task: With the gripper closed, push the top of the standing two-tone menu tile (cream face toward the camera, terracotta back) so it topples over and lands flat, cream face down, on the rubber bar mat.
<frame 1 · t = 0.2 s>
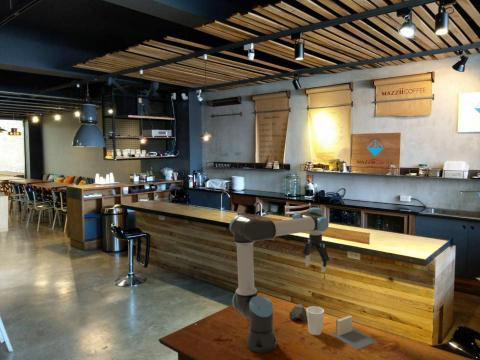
hand: (315, 268, 223), 27 cm above the table, fingers open, 13 cm apart
menu tile: (344, 332, 200), point 1 cm above the table, touching bar mat
bar mat: (353, 338, 195), on the table
foam cup: (315, 333, 201), on the table
fossil: (297, 318, 219), on the table
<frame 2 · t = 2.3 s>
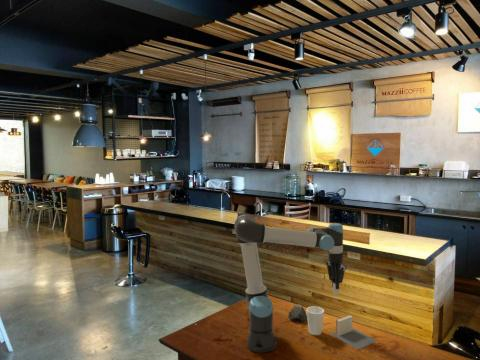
hand: (335, 294, 204), 20 cm above the table, fingers closed
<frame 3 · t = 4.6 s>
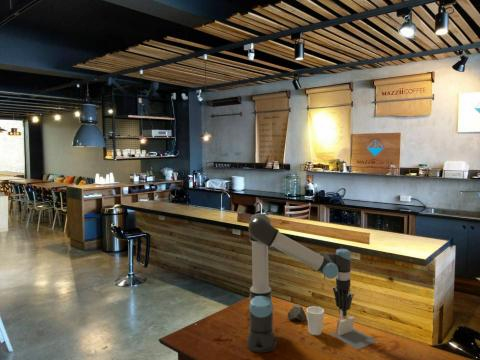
hand: (342, 320, 201), 6 cm above the table, fingers closed
menu tile: (344, 332, 200), point 1 cm above the table, tilted 8°, touching bar mat
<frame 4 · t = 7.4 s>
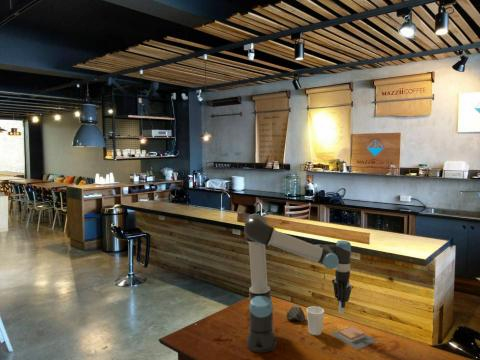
hand: (341, 312, 201), 11 cm above the table, fingers closed
menu tile: (346, 331, 199), point 2 cm above the table, tilted 90°, touching bar mat
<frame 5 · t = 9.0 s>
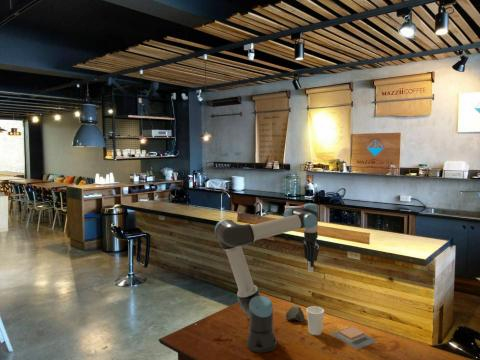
hand: (310, 272, 212), 29 cm above the table, fingers closed
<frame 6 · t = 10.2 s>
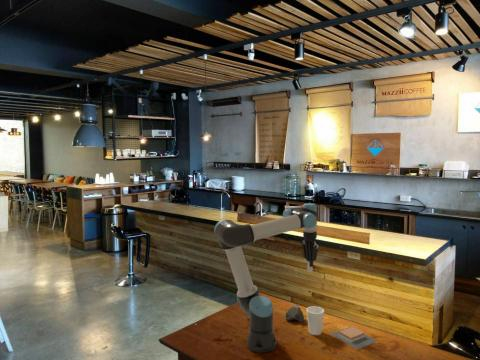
hand: (309, 271, 212), 29 cm above the table, fingers closed
at the end: menu tile tilted 90°; menu tile inside the target area (5.2 cm from its centre), point 1.8 cm above the table; the gripper is holding nothing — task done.
